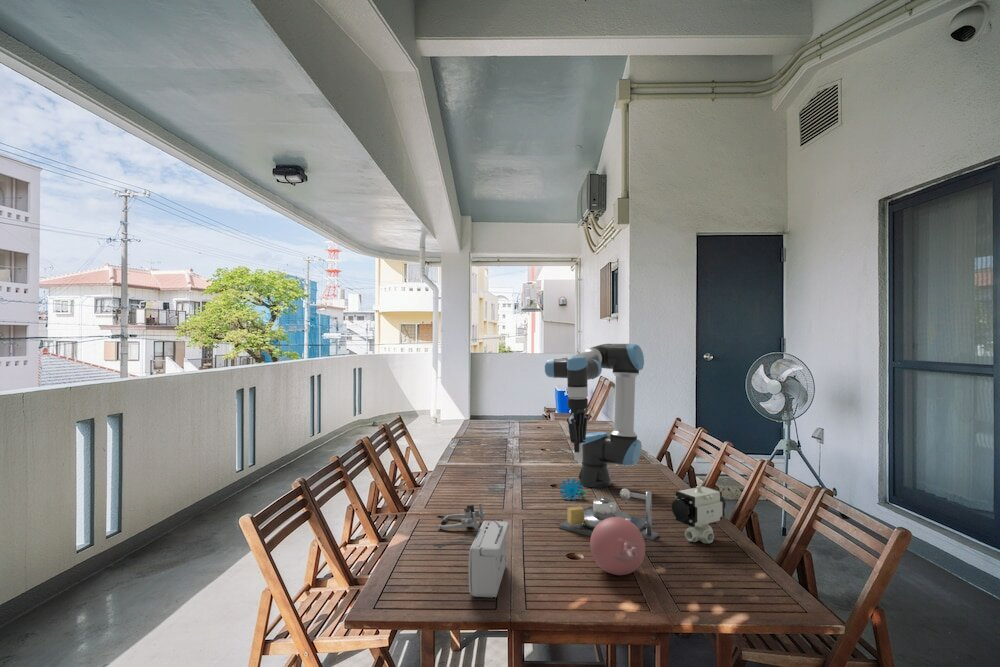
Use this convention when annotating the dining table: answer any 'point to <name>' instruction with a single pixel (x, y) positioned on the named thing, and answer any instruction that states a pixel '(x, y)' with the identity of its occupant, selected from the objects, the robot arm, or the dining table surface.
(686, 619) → the dining table surface
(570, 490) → the blue virus model
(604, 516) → the cover
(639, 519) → the turntable base
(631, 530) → the balloon
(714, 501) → the ball valve
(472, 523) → the bike brake
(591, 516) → the turntable
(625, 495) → the dial gauge
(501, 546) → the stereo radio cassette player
